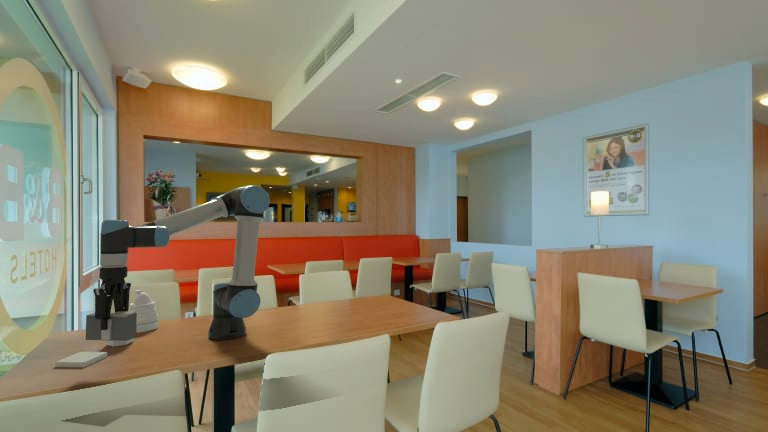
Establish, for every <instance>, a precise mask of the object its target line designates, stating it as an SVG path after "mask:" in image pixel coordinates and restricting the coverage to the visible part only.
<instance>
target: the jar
mask: <svg viewBox="0 0 768 432" xmlns="http://www.w3.org/2000/svg"><path fill="white" fill-rule="evenodd" d="M133 342H135V338H133V339H131V340H128V341H110V340H106V346H108V347H112V348H115V347H121V346H128V345H129V344H131V343H133Z"/></svg>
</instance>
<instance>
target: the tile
mask: <svg viewBox="0 0 768 432" xmlns="http://www.w3.org/2000/svg"><path fill="white" fill-rule="evenodd" d="M105 358H108V352H107V351H79V352H76V353H74V354H71V355H68V356H67V357H64V358H62V359H59V360H57V361H55V362H54V363H55V364H54V365H55V366H54V367H55V368H86V367H88V366H91V365H92V364H93V365H94V364H95V363H97V362H100V361H102V360H103V359H105Z"/></svg>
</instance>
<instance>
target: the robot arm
mask: <svg viewBox="0 0 768 432" xmlns="http://www.w3.org/2000/svg"><path fill="white" fill-rule="evenodd" d="M270 203H271V202H270V195H269V194H268V192H267V191H266V189H264V188H263V187H262V186H259V185H251V184H250V185H245V186H241V187H240V186H239V187H235V188H234V189H232V190H230V191H228V192H226V193H224V194H220V195H218V196H216V197H215V198H214V199H213V200H210V201H208V202H205V203H202V204H199V205H195V206H193V207H190V208H188V209H187V208H186V209H185V210H182V211H179V212H176V213H174V214H171V215H170V214H169V215H168V216H164V217H161V218H159V219H156V220H153V221H150V222H148V223H144V224H142V225H136V226H134V225H130V222H129V220H125V219H106V220H103V221H102V222H101V226H100V227H101V228H100V238H99V240H100V245H99V246H100V248H99V249H100V251H99V253H100V254H99V257H100V259H99V266H100V268H99V274H98V275H99V279H100V280H101V284H100V286H99V287H98V288H94V289H93V295H94V313H95V319H98V320H101V340H100V341H107V340H110V339H111V323H112V319H109V318H110V313H112V312H111V311H112V308H114V313H115V312H118V311H130V306H129V305H130V292H131V291H130V290H131V286H132V283H131V282H126V280H125V279H126V278H127V277H128V266H127V265H128V264H129V248H130V249H134V248H135V249H136V248H163V247H164V248H165V247H167V246H168V244H169V242H170V237H171V236H173V235H176V234H179V233H182V232H184V231H187V230H190V229H192V228H195V227H198V226H200V225H202V224H205V223H208V222H210V221H213V220H217V219H218V218H221V217H223V218H228V217H230V216H234V218H235V219H236V221H237V225H236V234H235V244H234V254H233V255H234V256H233V266H232V273H231V274H232V275H231V276H232V277H231V279H230V280H229V281H227V282H217V283H215V284H214V285H213V290H212V293H213V294H212V295H213V298H212V301H213V302H212V304H213V305H212V307H213V308H212V309H213V311H212V320H211V324H210V326H209V330H208V336H207V337H208V339H210V340H215V341H225V340H226V341H227V340H234V339H238V338H241V337H243V336H245V335H246V333H247V327H246V324H245V321H244V319H247V318H250V317H252V316H254V314H255V313H257V311H258V310H259V308H260V307H261V306H260V305H261V296H260V294H259V293H258V282H257V281H256V280H255V275H256V274H255V273H256V264H257V263H256V262H257V252H258V251H257V250H258V241H259V230H260V222H262V221H263V220H264V219H265V217H264V216H265V211H267V209H268V208H269V206H270ZM112 306H114V307H112ZM105 315H106V316H105Z"/></svg>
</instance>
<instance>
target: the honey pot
mask: <svg viewBox="0 0 768 432" xmlns="http://www.w3.org/2000/svg"><path fill="white" fill-rule="evenodd" d="M134 293H135V294H136V295H137V296H136V297H135V299H134V300H133V302H131V303H129V311H132V312H136V313H137V323H136V334H137V333H144V332H145V333H146V332H149V331H154V330H157V329H158V328H159V322H160V321H159V319H160V318H159V314H158V311H157V308H156V307H155V304H156V301H154V300H153V299H152V298H151V296H150V295H149V294H148V293H146V292H144V291H143V292H142V289H136V290H134Z"/></svg>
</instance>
